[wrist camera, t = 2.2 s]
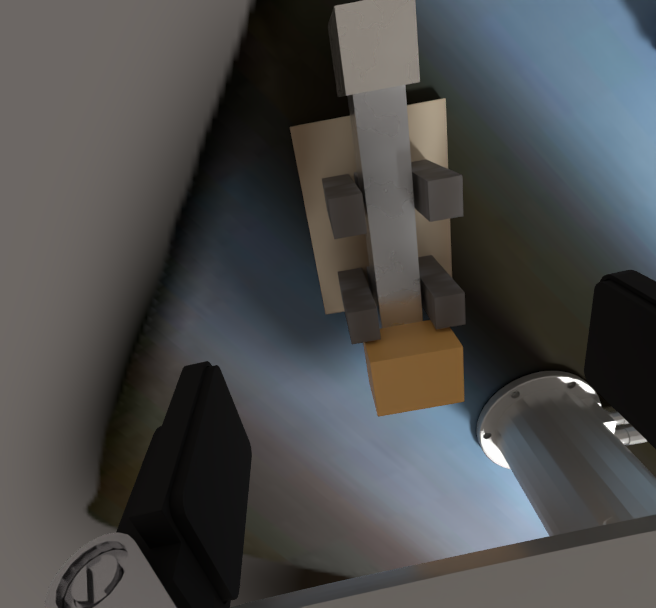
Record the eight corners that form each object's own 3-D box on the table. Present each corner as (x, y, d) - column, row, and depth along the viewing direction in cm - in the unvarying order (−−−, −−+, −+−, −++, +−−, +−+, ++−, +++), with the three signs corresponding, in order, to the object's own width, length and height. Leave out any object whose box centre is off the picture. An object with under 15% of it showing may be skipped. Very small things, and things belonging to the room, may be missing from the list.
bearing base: (441, 98, 29) (490, 96, 22) (448, 287, 36) (488, 336, 28) (289, 126, 30) (286, 134, 22) (325, 309, 36) (331, 364, 29)
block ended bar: (391, 13, 25) (414, -10, 20) (419, 348, 36) (438, 387, 31) (327, 25, 25) (334, 5, 20) (373, 356, 36) (385, 396, 31)
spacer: (443, 317, 30) (462, 346, 26) (445, 368, 32) (464, 401, 28) (361, 331, 30) (370, 362, 26) (369, 381, 32) (377, 416, 28)
